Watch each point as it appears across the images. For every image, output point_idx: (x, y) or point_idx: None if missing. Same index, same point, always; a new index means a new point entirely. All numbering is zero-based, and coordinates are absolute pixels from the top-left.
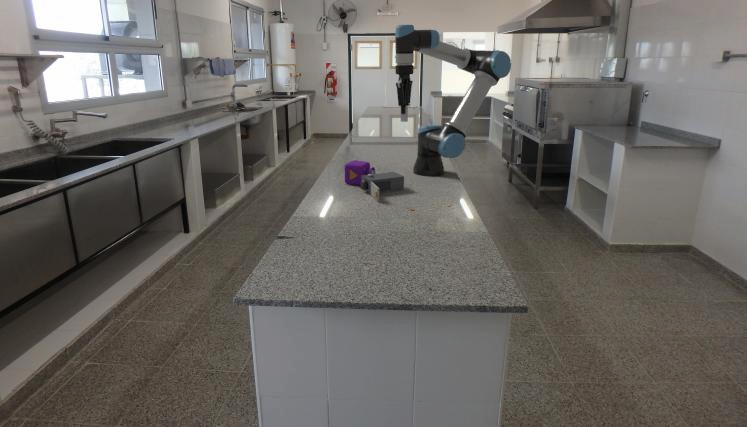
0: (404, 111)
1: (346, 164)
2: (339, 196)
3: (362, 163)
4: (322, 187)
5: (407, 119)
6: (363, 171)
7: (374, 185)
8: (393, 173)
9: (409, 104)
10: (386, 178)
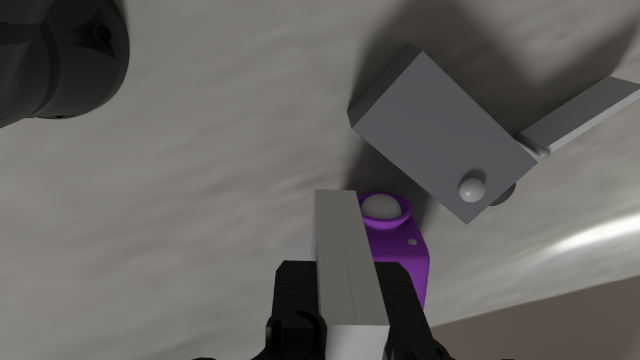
0: (396, 286)
1: None
2: (558, 224)
3: None
4: (467, 307)
5: (324, 200)
6: (418, 238)
7: (595, 123)
8: (384, 119)
9: (307, 326)
10: (486, 114)
